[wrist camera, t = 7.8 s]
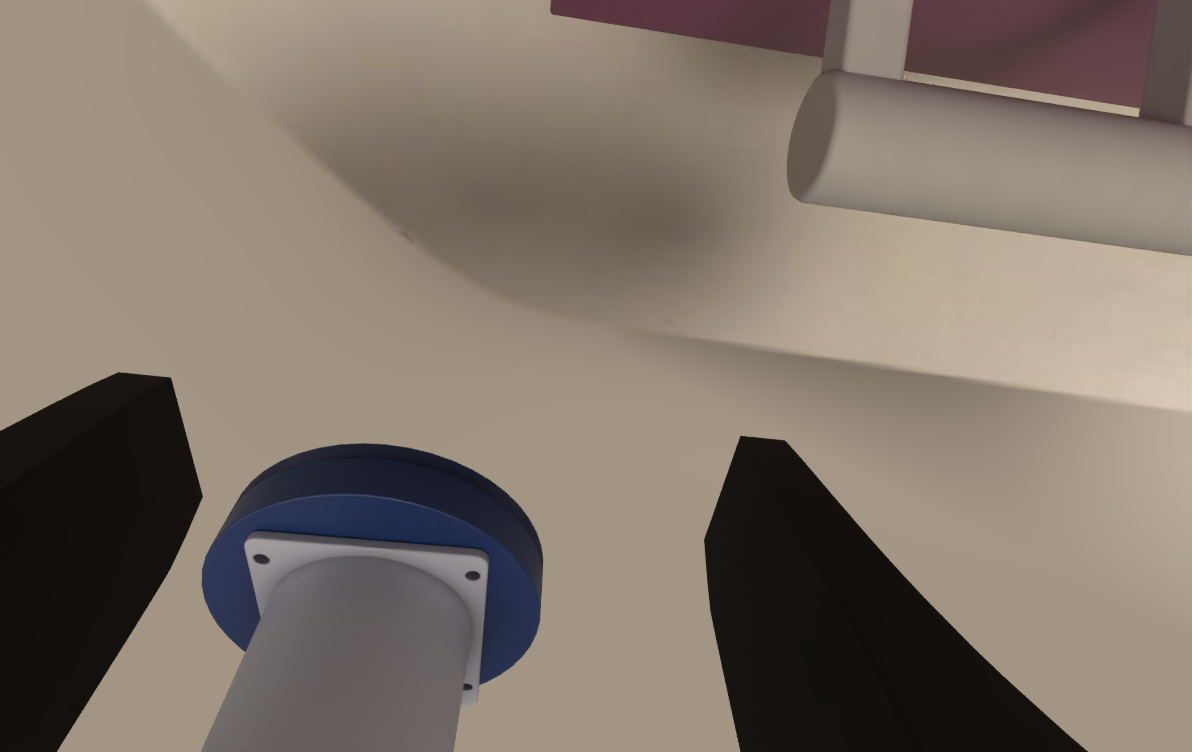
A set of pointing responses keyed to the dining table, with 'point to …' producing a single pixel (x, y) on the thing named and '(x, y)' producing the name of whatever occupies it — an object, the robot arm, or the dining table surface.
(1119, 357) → the dining table surface
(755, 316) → the dining table surface
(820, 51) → the lid
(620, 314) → the dining table surface
